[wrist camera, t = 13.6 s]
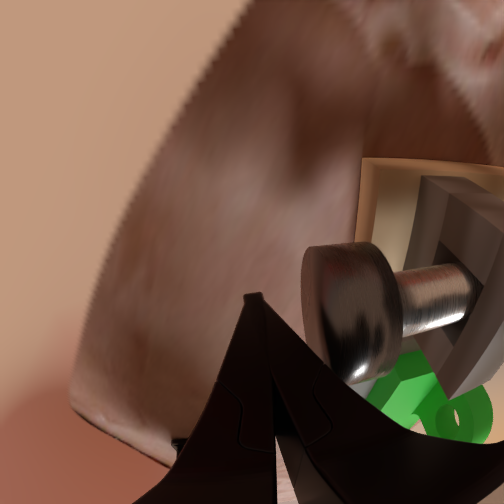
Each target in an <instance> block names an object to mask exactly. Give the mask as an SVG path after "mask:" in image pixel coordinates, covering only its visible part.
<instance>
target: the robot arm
mask: <svg viewBox="0 0 504 504" xmlns="http://www.w3.org/2000/svg"><path fill="white" fill-rule="evenodd" d="M243 299H244V306H243V308H242V311H241V314H240V317H239V319H238V322H237V325H236V328H235V330H234V333H233V336H232V339H231V341H230V344H229V347H228V349H227V352H226V355H225V357H224V360H223V363H222V366H221V368H220V371H219V374H218V376H217V379H216V382H215V384H214V387H213V389H212V392H211V395H210V397H209V399H208V402H207V404H206V406H205V409H204V411H203V413H202V415H201V417H200V419H199V420H198V422H197V424H196V426H195V428H194V430H193V431H192V433H191V435H190V437H189V438H188V440H172V441H171V446H172V447H173V448H174V449H175V450H176V451H177V459H176V461H175V463H174V464H173V466H172V467H171V469H170V470H169V472H168V473H167V474H166V475H165V477H164V478H163V479H162V480H161V481H160V482H159V483H158V484H157V485H156V486H154V487H153V488H152V489H151V490H149V491H148V492H147V493H145V494H144V495H143V496H142V497H140V498H139V499H138V500H136V501H135V502H134V503H132V504H277V472H276V440H275V436H276V439H277V442H278V445H279V448H280V451H281V454H282V457H283V460H284V463H285V466H286V468H287V471H288V474H289V477H290V480H291V483H292V486H293V488H294V492H295V494H296V497H297V500H298V503H299V504H504V440H503V441H500V442H498V443H491V444H479V443H471V442H464V441H457V440H451V439H445V438H440V437H435V436H429V435H424V434H420V433H417V432H414V431H411V430H409V429H407V428H405V427H403V426H401V425H400V424H398V423H397V422H395V421H394V420H393V419H391V418H390V417H388V416H387V415H386V414H384V413H383V412H382V411H380V410H379V409H378V408H376V407H375V406H374V405H372V404H371V403H370V402H368V401H367V400H366V399H364V398H363V397H362V396H360V395H359V394H358V393H357V392H356V391H354V390H353V389H352V388H351V387H349V386H348V385H347V384H346V383H345V382H344V381H343V380H342V379H341V378H339V377H338V376H337V375H336V374H335V373H334V372H333V371H332V370H331V369H330V368H329V367H328V366H327V365H326V364H324V362H323V361H322V360H321V359H320V358H319V357H318V356H317V355H316V354H315V352H314V351H313V350H312V349H311V348H310V347H309V346H308V345H307V344H306V343H305V342H304V341H303V340H302V339H301V338H300V337H299V336H298V335H297V334H296V333H295V332H294V331H293V330H292V329H291V328H290V327H289V326H288V324H287V323H286V322H285V321H284V320H283V319H282V318H281V317H280V316H279V315H278V314H277V313H276V312H275V311H274V310H273V309H272V308H271V307H270V306H269V304H268V303H267V302H266V301H265V300H264V297H263V294H262V293H261V292H256V293H248V294H244V296H243Z"/></svg>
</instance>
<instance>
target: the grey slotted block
mask: <svg viewBox="0 0 504 504" xmlns="http://www.w3.org/2000/svg"><path fill="white" fill-rule="evenodd" d="M362 241H367V242H371V243H373V244H374V245H375V246H377V247H378V248H379V249H380V250H381V251H382V253H383V254H384V256H385V257H386V259H387V260H388V262H389V264H390V266H391V268H392V271H393V272H398V271H405V270H411V269H417V268H423V267H429V266H435V265H441V264H447V263H452V262H458V261H461V262H462V263H463V264H464V265H465V266H466V267H467V268H468V269H469V270H470V271H471V272H472V274H473V275H474V276H475V277H476V278H477V279H478V280H479V281H480V282H481V283H482V284H483V285H484V288H483V290H482V292H481V294H480V297H479V299H478V301H477V303H476V305H475V307H474V310H473V312H472V314H471V316H470V318H467V319H464V320H461V321H458V322H455V323H451V324H448V325H445V326H442V327H438V328H435V329H432V330H428V331H425V332H421V333H418V334H414V335H413V337H414V338H415V340H416V342H417V343H418V345H419V347H420V349H421V350H422V352H423V354H424V356H425V357H426V359H427V361H428V363H429V365H430V366H431V368H432V370H433V372H434V374H435V376H436V378H437V380H438V381H439V383H440V385H441V387H442V389H443V391H444V393H445V395H446V397H447V399H448V401H449V400H451V399H453V398H455V397H458V396H460V395H462V394H464V393H466V392H468V391H470V390H472V389H474V388H476V387H478V386H480V385H482V384H484V383H485V382H487V381H489V380H490V379H491V378H492V377H493V376H494V374H495V373H496V372H497V370H498V369H499V368H500V366H501V365H502V364H503V362H504V167H498V166H490V165H482V164H473V163H463V162H452V161H439V160H424V159H403V158H362V166H361V180H360V193H359V204H358V214H357V223H356V232H355V240H354V242H362Z"/></svg>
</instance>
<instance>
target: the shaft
mask: <svg viewBox="0 0 504 504" xmlns="http://www.w3.org/2000/svg"><path fill="white" fill-rule="evenodd" d="M483 288H484V285H483V284H482V283H481V282H480V281H479V280H478V279H477V278H476V277H475V276H474V275H473V274H472V272H471V271H470V270H469V269H468V268H467V267H466V266H465V265H464V264H463V263H462V262H461V261H458V262H452V263H447V264H441V265H435V266H429V267H423V268H417V269H411V270H405V271H398V272H393V271H392V268H391V266H390V264H389V262H388V260H387V259H386V257H385V256H384V254H383V253H382V251H381V250H380V249H379V248H378V247H377V246H375V245H374V244H373V243H371V242H367V241H362V242H352V243H342V244H332V245H323V246H313V247H308V248H307V250H306V251H305V254H304V257H303V261H302V269H301V303H302V315H303V324H304V331H305V337H306V343H307V345H308V346H309V347H310V348H311V349H312V350H313V351H314V352H315V354H316V355H317V356H318V357H319V358H320V359H321V360H322V361H323V362H324V364H326V365H327V366H328V367H329V368H330V369H331V370H332V371H333V372H334V373H335V374H336V375H337V376H338V377H339V378H341V379H342V380H343V381H344V382H345V383H346V384H347V385H348V386H349V385H354V384H358V383H362V382H366V381H370V380H374V379H378V378H382V377H384V376H386V375H388V374H389V373H390V372H391V371H392V369H393V368H394V366H395V364H396V362H397V360H398V357H399V354H400V350H401V345H402V338H403V337H406V336H410V335H414V334H418V333H421V332H425V331H428V330H432V329H435V328H438V327H442V326H445V325H448V324H451V323H455V322H458V321H461V320H464V319H467V318H470V316H471V314H472V312H473V310H474V307H475V305H476V303H477V301H478V299H479V297H480V294H481V292H482V290H483Z"/></svg>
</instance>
